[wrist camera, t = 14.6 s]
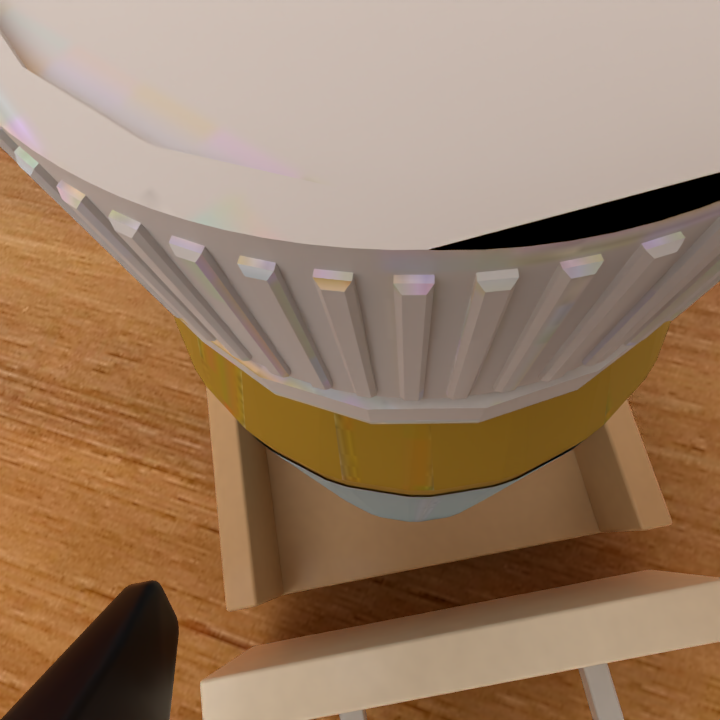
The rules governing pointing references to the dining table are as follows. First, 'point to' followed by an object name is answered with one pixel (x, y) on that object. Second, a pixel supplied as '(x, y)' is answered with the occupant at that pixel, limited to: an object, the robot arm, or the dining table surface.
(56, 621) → the dining table surface
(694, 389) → the dining table surface
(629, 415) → the drawer
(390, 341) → the bottle
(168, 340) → the dining table surface
